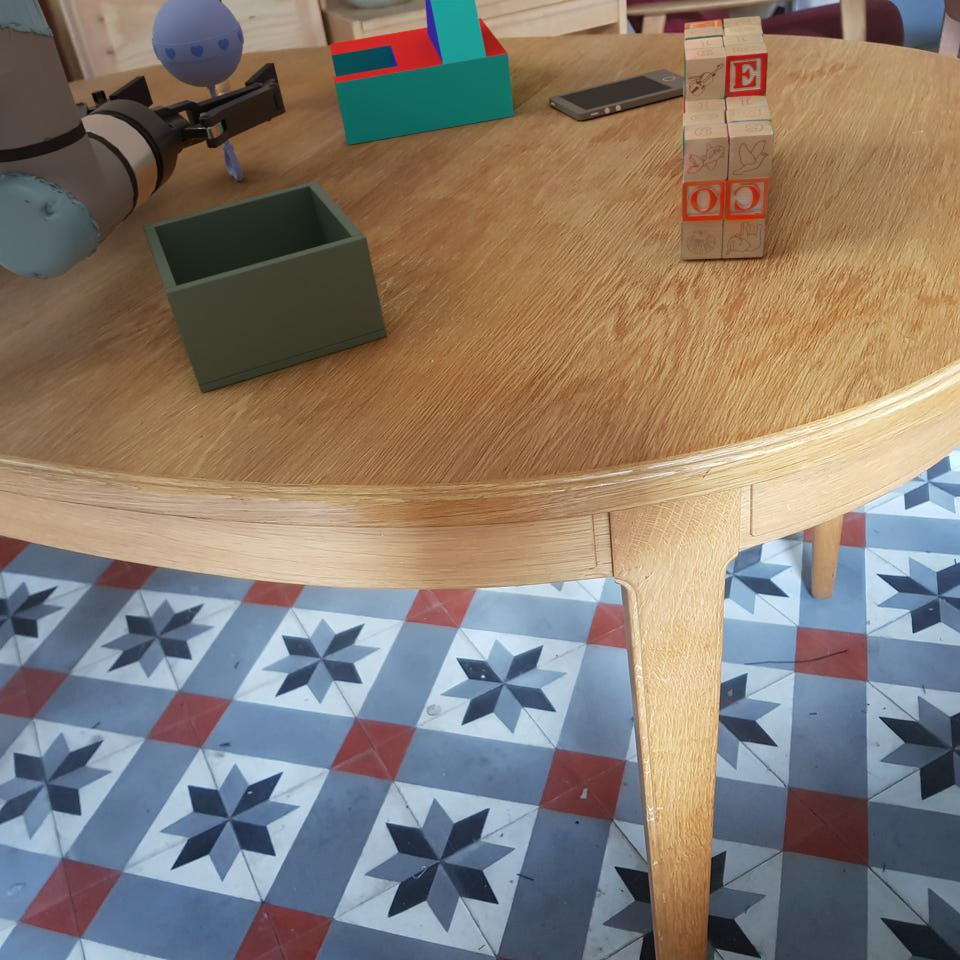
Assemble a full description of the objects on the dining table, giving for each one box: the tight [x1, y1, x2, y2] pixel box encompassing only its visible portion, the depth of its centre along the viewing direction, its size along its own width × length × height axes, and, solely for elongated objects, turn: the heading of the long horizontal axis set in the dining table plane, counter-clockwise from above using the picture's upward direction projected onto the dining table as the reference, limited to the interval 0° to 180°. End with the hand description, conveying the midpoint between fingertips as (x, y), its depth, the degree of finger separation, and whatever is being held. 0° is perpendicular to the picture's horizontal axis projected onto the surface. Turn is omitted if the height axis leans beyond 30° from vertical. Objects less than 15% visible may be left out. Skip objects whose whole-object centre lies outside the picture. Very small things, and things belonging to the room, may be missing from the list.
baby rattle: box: [151, 0, 245, 182], centre depth 95 cm, size 9×9×18 cm
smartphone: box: [548, 68, 684, 121], centre depth 105 cm, size 15×8×1 cm, turn 111°
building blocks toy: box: [329, 0, 515, 146], centre depth 110 cm, size 19×25×18 cm
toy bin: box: [142, 180, 388, 394], centre depth 70 cm, size 14×14×8 cm
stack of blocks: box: [680, 15, 775, 260], centre depth 76 cm, size 21×6×12 cm, turn 170°
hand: (208, 83), depth 93 cm, fingers open, 13 cm apart
